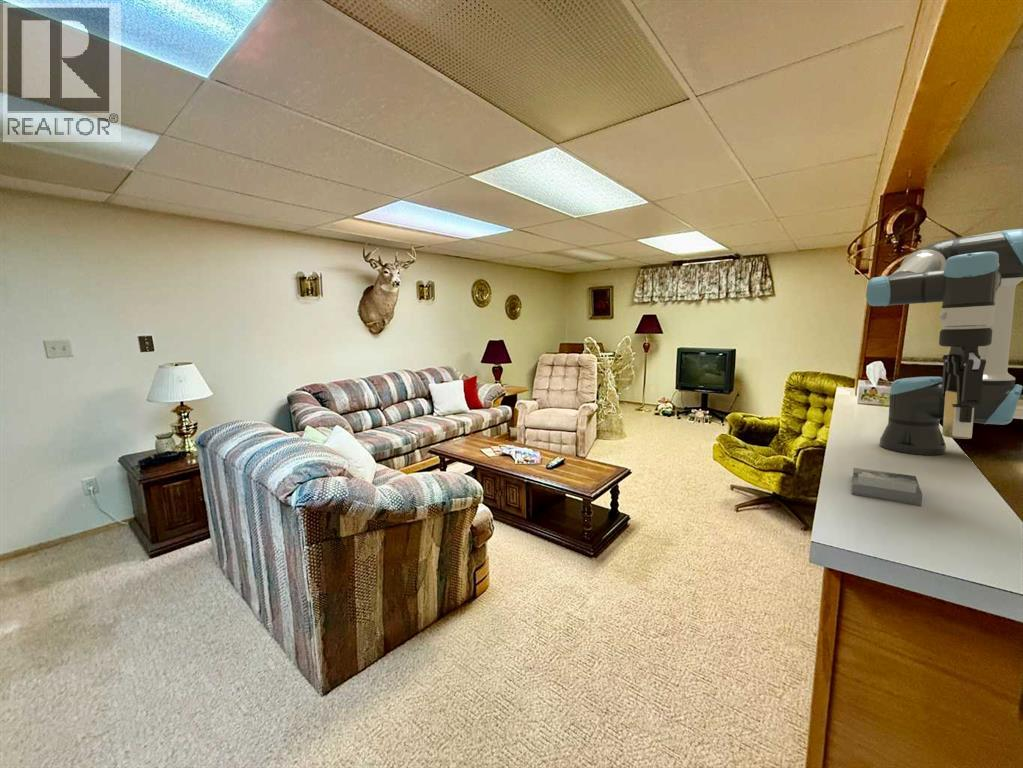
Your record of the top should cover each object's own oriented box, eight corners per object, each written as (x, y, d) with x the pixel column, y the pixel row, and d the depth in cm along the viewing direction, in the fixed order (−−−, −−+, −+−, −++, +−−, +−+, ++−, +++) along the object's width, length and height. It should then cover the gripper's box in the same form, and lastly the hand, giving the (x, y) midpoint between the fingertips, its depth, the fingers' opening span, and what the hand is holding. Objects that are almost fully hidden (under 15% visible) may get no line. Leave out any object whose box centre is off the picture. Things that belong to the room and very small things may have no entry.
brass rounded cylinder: (956, 433, 91) (959, 389, 90) (978, 438, 87) (982, 392, 85) (936, 434, 91) (939, 390, 90) (957, 439, 87) (960, 393, 85)
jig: (852, 476, 109) (853, 459, 109) (915, 485, 101) (916, 467, 101) (852, 494, 99) (853, 475, 98) (921, 505, 91) (922, 485, 90)
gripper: (926, 327, 95) (919, 423, 98) (957, 329, 80) (948, 442, 83) (972, 325, 91) (964, 425, 94) (1013, 327, 76) (1002, 445, 79)
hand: (956, 433), depth 89 cm, fingers closed on brass rounded cylinder, 4 cm apart
